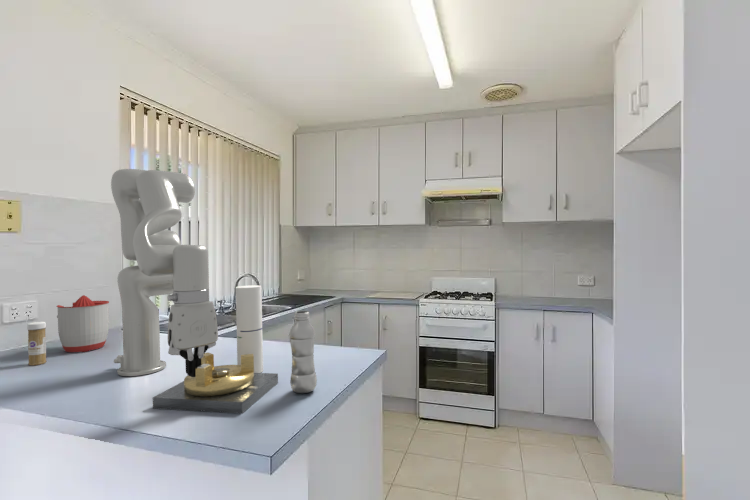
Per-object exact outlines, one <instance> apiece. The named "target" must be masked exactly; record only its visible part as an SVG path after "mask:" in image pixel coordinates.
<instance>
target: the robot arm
mask: <svg viewBox="0 0 750 500" xmlns="http://www.w3.org/2000/svg"><path fill="white" fill-rule="evenodd" d="M110 181H111V182H110V187H111V188H110V189H111V194H112V197H113V200H114V204H115V205H116V208H117V210H118V214H119V217H120V235H121V251H122V254H123V256H124V258H125V259H126V260H129V261H133V262H134V261H135V262H137V263H136V265H129V266H127V267H125V268H122V269H121V270H120V271H119V272H118V275H117V287H118V292H119V295H120V302H121V303H120V304H121V315H122V316H121V317H122V319H121V320H122V350H123V352H122V353H123V355H121V354H118V355H117V356H116V358H114V359H113V363H114V364H120V367H119V368H118V369H117V371H116V372H117V375H119V376H121V377H137V376H144V375H150V374H153V373H156V372H159V371H162V370H164V369H165V368H166V367H167V362H166V361H164V360H162V359H161V339H160V338H161V337H160V334H161V333H160V311H159V308H158V306H157V305H156V303H154V302H153V301H152V300H151V299H150V297H155V296H164V295H165V296H166V295H167V301H168V302H172V303H173V304H171V305H170V309H169V315H168V322H167V344H168V346H169V347H168V351H167V354H168V355H170V356H180V357H181V358H182V359H184V360H185V373H186V374H187V375H188V376H191V377H196V368H197V367H198V366H200V365H201V358H203V356H204V353H207V351H208V349H211V348H213V347H215V346H217V341H218V339H219V330H218V329H219V328H218V322H217V321H218V320H217V313H216V309H215V304H214V302H213V301H210V282H209V281H210V280H209V278H210V276H209V275H210V274H209V273H210V272H209V251H208V248H207V246H205V245H201V244H182V241H181V238H180V236H179V235H178V233H176V232H175V231H173V230H168V229H170V228H172V227H174V226H176V225H177V224H178V223H179V222H180V221H181V220H182V217H183V213H182V210H181V207H180V204H179V203H183V204H185V203H186V204H187V203H190V202H191V201H192V200H193V199H194V197H195V194H196V193H195V192H196V189H195V188H196V187H195V183H194V181H193V180H192V178H191V177H190V176H189V175H188V174H186V173H183V172H174V171H167V170H157V169H149V170H146V169H140V168H139V169H137V168H122V169H118V170H116V171H114V172H113V173H112V176H111V180H110ZM187 375H186V376H187Z"/></svg>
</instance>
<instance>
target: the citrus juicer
mask: <svg viewBox="0 0 750 500" xmlns="http://www.w3.org/2000/svg"><path fill="white" fill-rule="evenodd" d="M109 303H110V301H109V300H92V299H90V298H89V297H88V296H86V295H84V294H83V295H81V296H79V298H78V299H76V301H75V302H72V306H64V305H60V304H58V305H56V307H57V315H56V318H57V330H58V332H57V333H58V337H59V340H60V343H61V347H62V349H63V350H64V352H67V353H79V352H81V353H87V352H89V351H93V350H96V349H97V350H98V349H100V348H101V349H102V348H103V347H104V346H105V344H106V342H107V339H108V335H109V330H110V329H109V328H110V319H109V318H110V315H109V309H110V308H109Z"/></svg>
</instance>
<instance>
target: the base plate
mask: <svg viewBox="0 0 750 500" xmlns="http://www.w3.org/2000/svg"><path fill="white" fill-rule="evenodd" d="M278 383H279V374H278V373H269V372H261V373H254V381H253V383H252V384H251V385H249V386H248V387H246V388H244V389H241V390H238V391H235V392H232V393H227V394H222V395H215V396H196V395H191V394H188V393H186V392H185V390H184V380H183V381H181V382H179V383H177V384H176V385H174V386H172V387H170V388H168V389H166V390H164V391H162V392H161V393H158V394H157V395H155V396H153V397H152V409H154V410H155V409H156V410H170V411H171V410H172V411H190V412H206V413H207V412H208V413H209V412H210V413H227V414H244V413H245V412H246V411H247V410H248V409H249V408H251V407H252V406H253V405H254V404H256V402H258V401H259V400H261V398H262V397H264V396H265V395H266V394H267V393H268V392H270V390H272V389H273V388H274V387H276V385H278Z"/></svg>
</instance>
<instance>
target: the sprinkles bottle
mask: <svg viewBox="0 0 750 500" xmlns="http://www.w3.org/2000/svg"><path fill="white" fill-rule="evenodd" d="M46 328H47V323H46V321H34V322H33V321H32V322H28V323H27V326H26V330H27V331H28V333H27V338H28V339H27V343H28V345H27V352H28V353H27V354H28V364H27V365H29V366H40V365H44V364H46V363H47V361H48V360H47V336H46Z"/></svg>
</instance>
